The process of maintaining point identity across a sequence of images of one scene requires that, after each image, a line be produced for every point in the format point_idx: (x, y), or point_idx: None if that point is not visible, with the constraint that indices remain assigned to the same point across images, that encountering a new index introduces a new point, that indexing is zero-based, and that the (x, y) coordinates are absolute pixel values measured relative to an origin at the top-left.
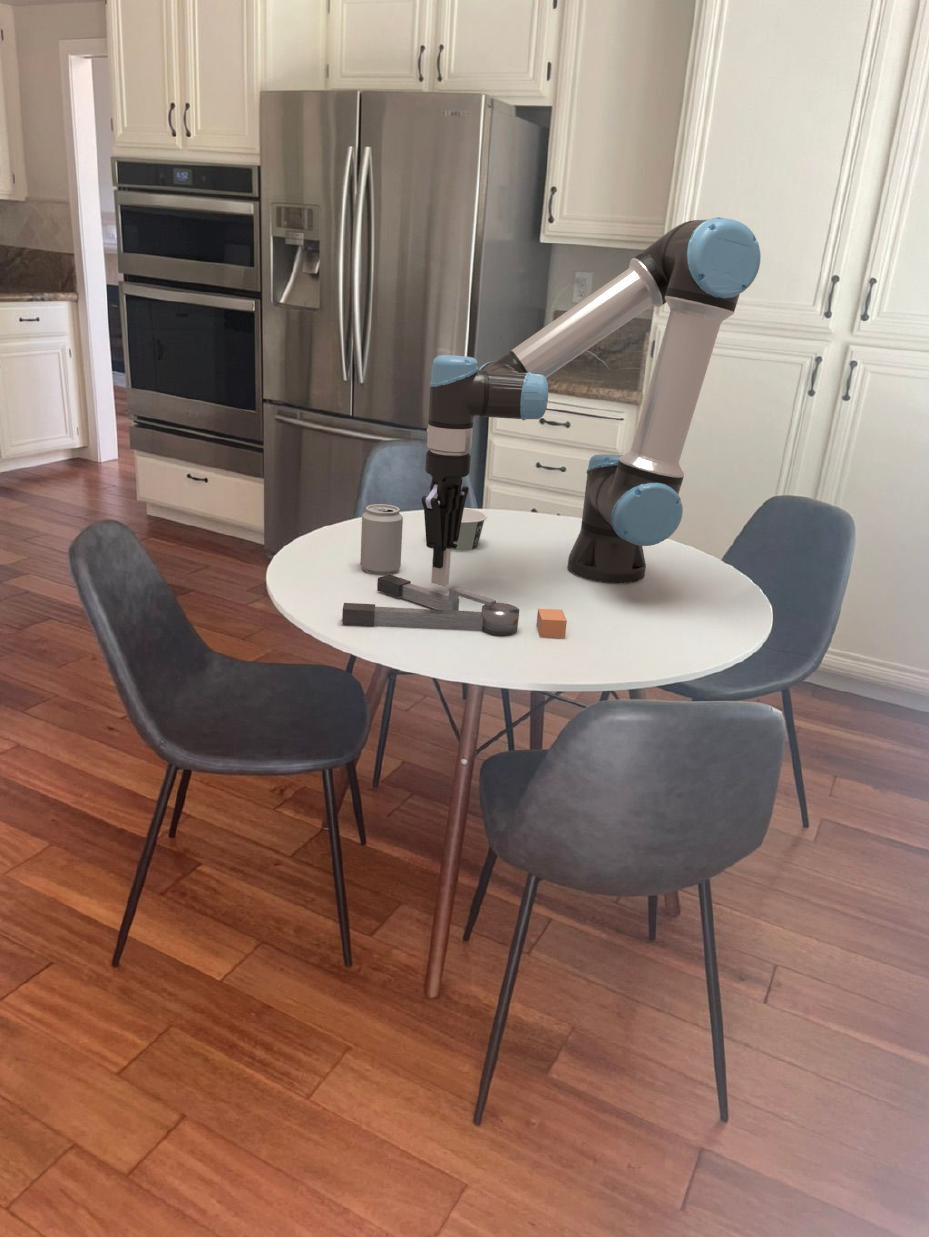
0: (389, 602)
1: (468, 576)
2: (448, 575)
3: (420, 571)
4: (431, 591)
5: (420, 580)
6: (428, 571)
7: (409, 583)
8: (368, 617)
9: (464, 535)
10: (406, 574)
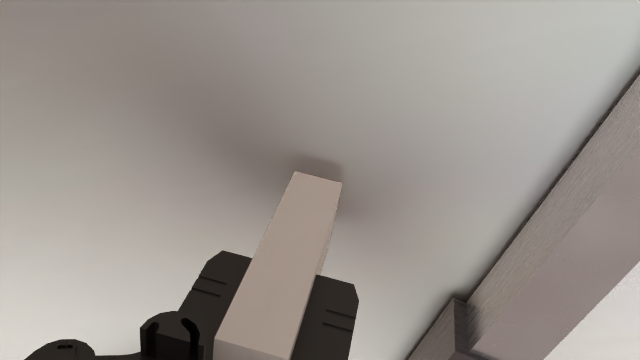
0: (579, 348)
1: (16, 106)
2: (290, 204)
3: (114, 300)
4: (589, 236)
5: None
6: (91, 274)
7: (477, 348)
8: None
9: None
10: None
